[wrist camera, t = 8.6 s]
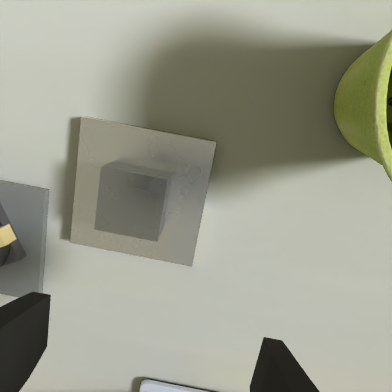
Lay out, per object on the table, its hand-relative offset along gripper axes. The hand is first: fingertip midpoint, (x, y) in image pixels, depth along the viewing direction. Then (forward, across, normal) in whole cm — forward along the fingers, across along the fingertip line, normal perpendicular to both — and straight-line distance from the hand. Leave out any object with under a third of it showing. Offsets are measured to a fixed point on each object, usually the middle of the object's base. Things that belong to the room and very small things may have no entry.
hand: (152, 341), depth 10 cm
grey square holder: (+10, +3, -2) cm, 11 cm away
